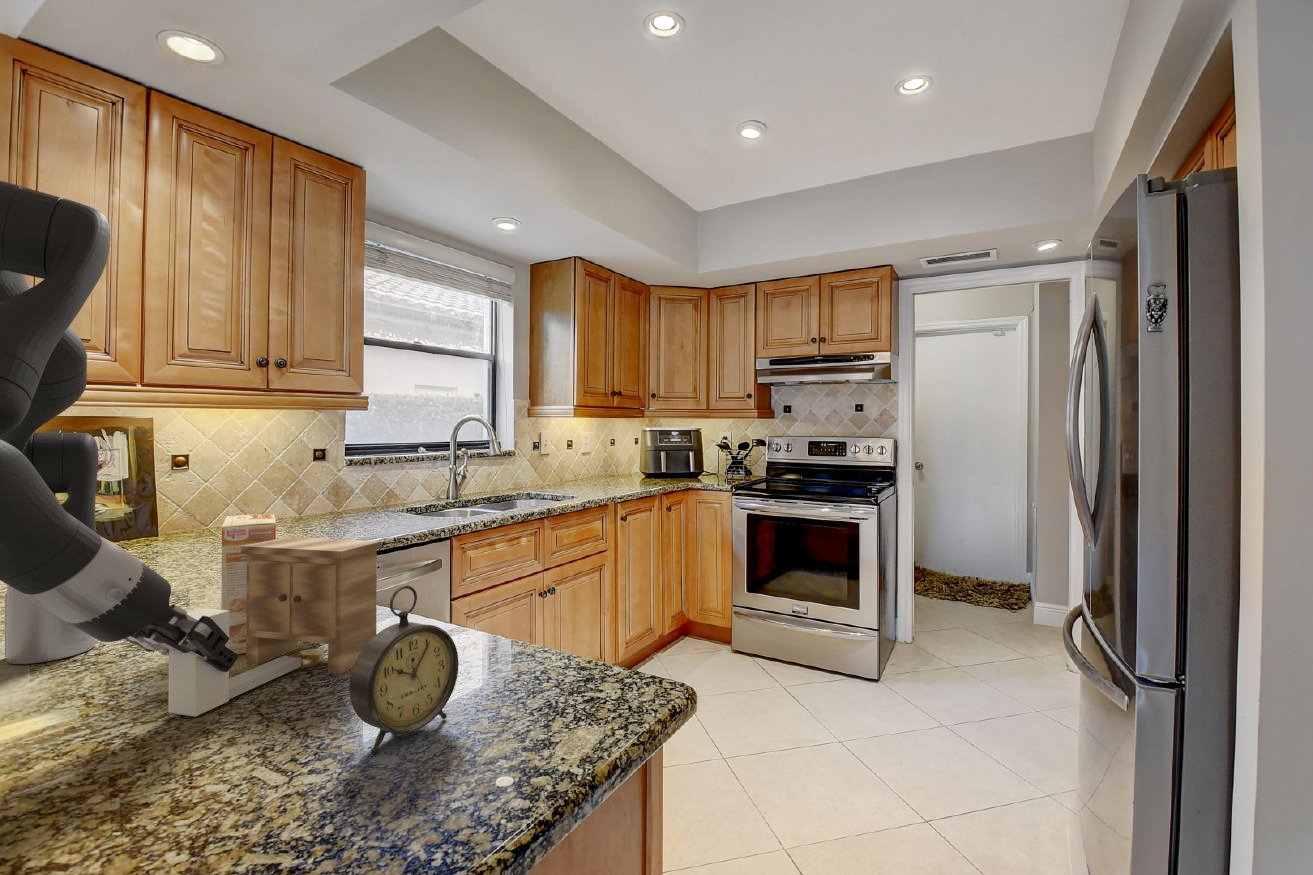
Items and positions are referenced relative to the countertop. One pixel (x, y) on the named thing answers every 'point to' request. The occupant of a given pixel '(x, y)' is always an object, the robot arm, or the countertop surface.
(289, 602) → the cabinet
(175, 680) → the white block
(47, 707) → the countertop surface
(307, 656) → the token
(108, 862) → the countertop surface
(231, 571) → the coffeecake box
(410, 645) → the alarm clock
